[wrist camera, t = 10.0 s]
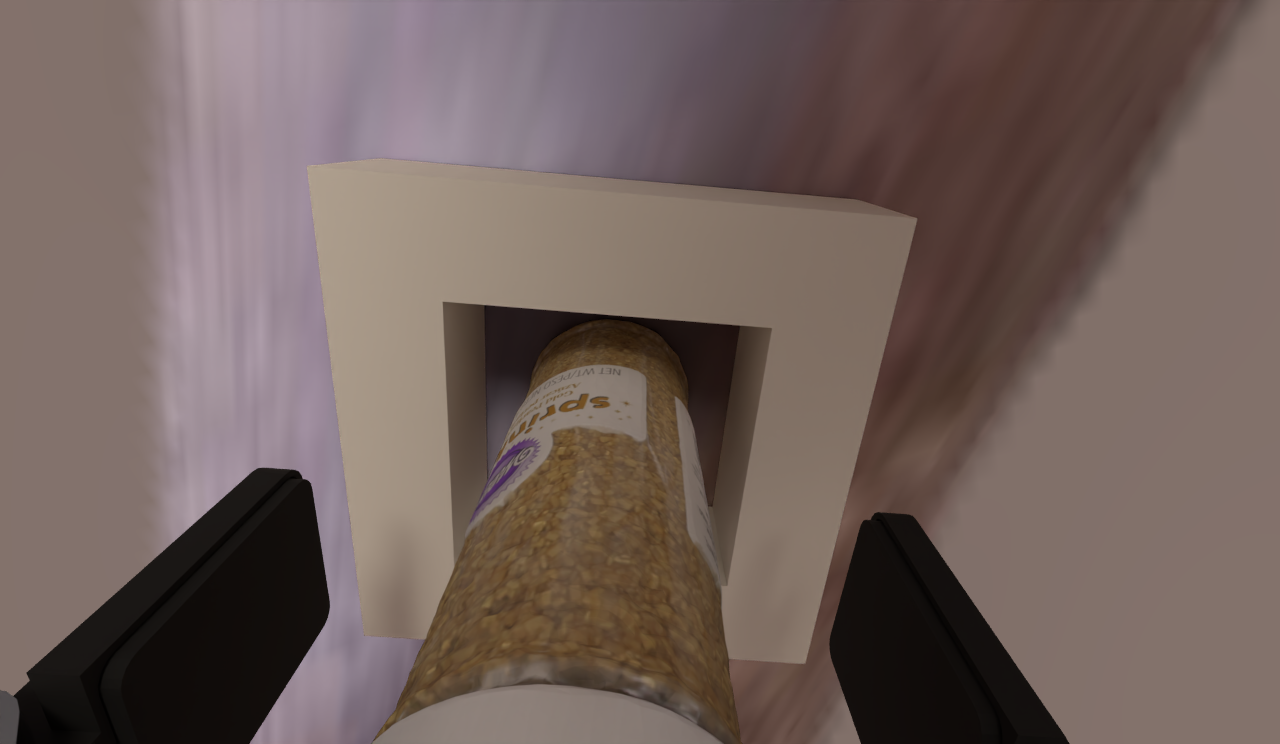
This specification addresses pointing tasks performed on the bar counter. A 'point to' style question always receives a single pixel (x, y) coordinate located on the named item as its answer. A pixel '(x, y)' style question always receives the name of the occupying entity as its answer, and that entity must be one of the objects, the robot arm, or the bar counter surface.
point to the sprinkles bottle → (583, 569)
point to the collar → (611, 285)
